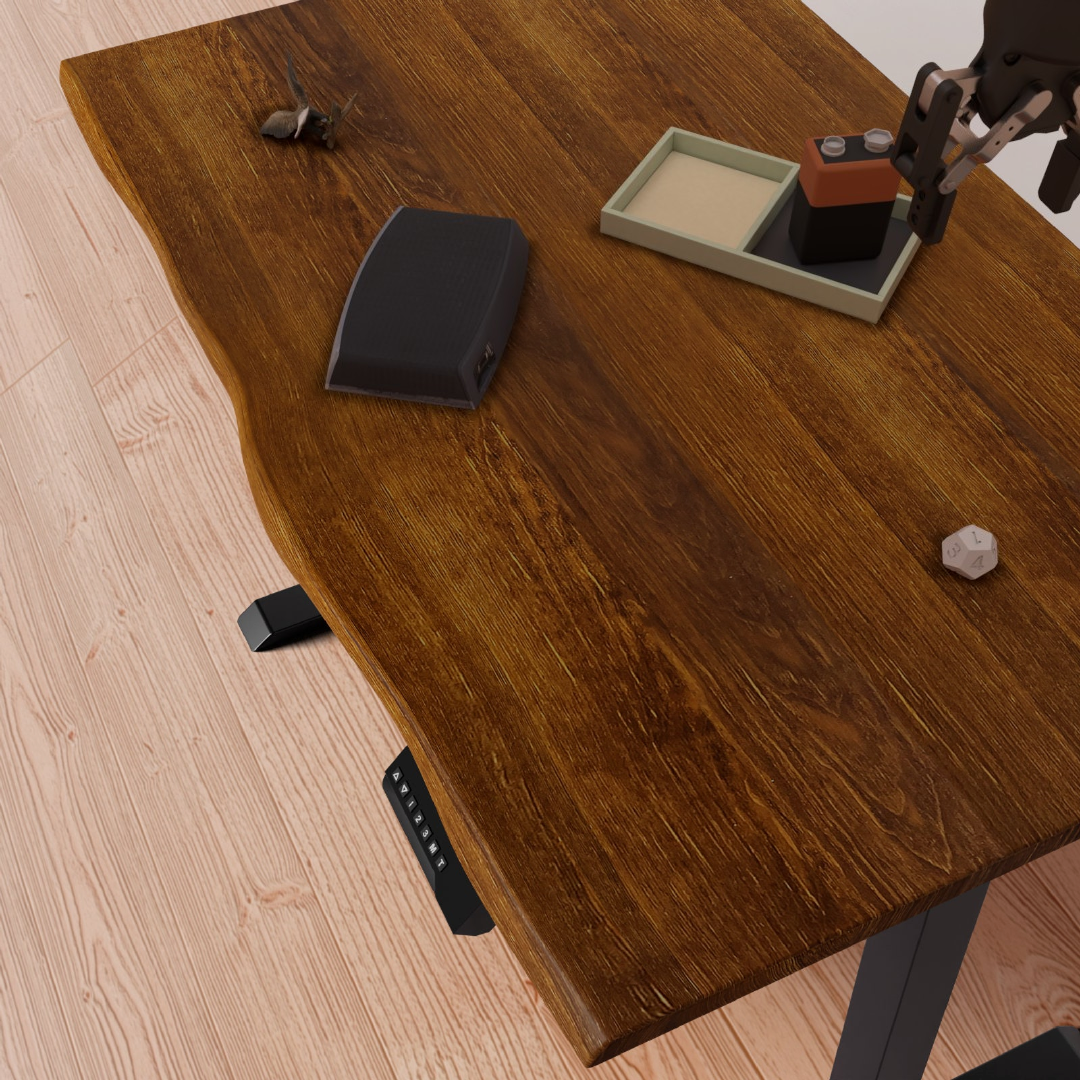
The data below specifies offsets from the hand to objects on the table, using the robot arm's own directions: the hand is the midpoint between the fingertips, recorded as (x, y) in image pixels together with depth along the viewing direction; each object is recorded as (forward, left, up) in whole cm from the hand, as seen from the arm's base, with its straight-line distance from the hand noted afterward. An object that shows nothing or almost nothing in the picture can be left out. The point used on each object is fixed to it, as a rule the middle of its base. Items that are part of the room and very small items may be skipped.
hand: (989, 220), depth 67 cm
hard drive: (+32, -19, -20) cm, 42 cm away
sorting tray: (+4, -25, -20) cm, 32 cm away
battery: (-1, -21, -19) cm, 28 cm away
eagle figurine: (+41, -46, -20) cm, 65 cm away
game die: (0, +11, -20) cm, 22 cm away
